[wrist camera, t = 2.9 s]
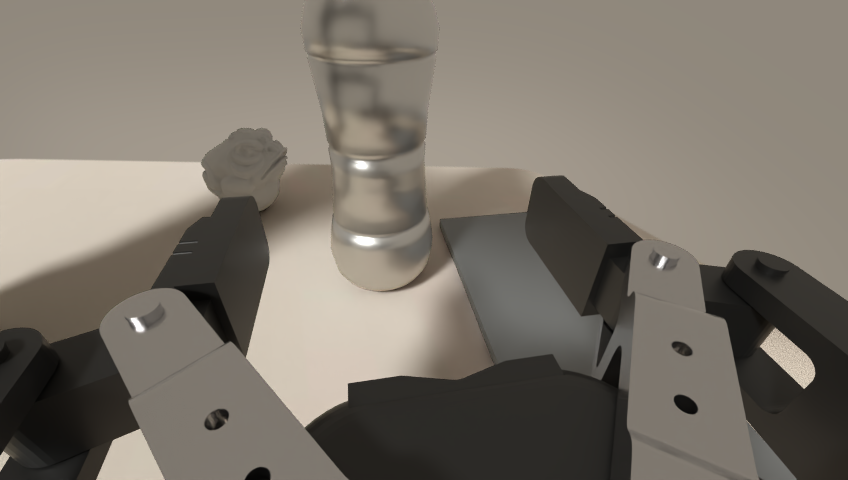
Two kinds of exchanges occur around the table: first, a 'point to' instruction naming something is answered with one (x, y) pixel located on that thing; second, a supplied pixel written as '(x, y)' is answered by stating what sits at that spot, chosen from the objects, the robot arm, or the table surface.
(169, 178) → the table surface
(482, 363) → the table surface
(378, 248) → the plastic bottle
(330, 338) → the table surface
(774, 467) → the charcoal rubber mat
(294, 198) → the table surface
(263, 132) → the grey cupcake
